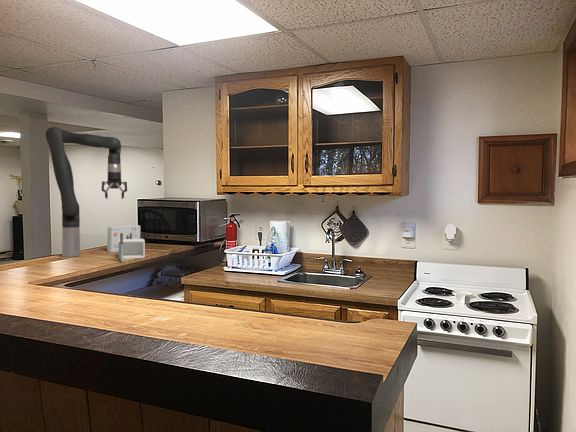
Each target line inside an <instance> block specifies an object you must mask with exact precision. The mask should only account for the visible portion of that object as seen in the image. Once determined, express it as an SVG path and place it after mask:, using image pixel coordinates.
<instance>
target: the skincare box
mask: <svg viewBox="0 0 576 432" xmlns="http://www.w3.org/2000/svg"><path fill="white" fill-rule="evenodd" d="M120 233H123V239H141V225H139V224H138V225H136V224H132V225H115V226H113V225H112V226H107V241H106V242H107V251H106V252H109V253H116V252H118V253H119V239H120Z"/></svg>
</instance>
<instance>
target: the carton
mask: <svg viewBox="0 0 576 432" xmlns="http://www.w3.org/2000/svg"><path fill="white" fill-rule="evenodd" d="M119 242H120V239H119ZM145 242H146V241H145V239H144V238H140V239H123V244H122V245H123V259H139V258H140V259H141V258H142V259H143V258H145V257H146V256H145V255H146V250H145V249H146V245H145Z"/></svg>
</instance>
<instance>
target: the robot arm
mask: <svg viewBox="0 0 576 432" xmlns="http://www.w3.org/2000/svg"><path fill="white" fill-rule="evenodd" d="M45 138H46V142H47V144H48V147H49V151H50V155H51V162H52V167H53V173H54V178H55V181H56V184H57V186H58V190H59V194H60V199H61V201H60V202H61V217H62V218H61V226H62V228H61V231H62V232H61V233H62V234H61V235H62V236H61V237H62V239H61V248H62V249H61V250H62V251H61V252H62V253H61V254H62V255H61V256H62V257H63V258H65V257H67V258H68V257H69V258H71V257H79V256H81V239H80V238H81V235H80V234H81V233H80V231H81V229H80V223H81V222H80V219H81V218H80V217H81V216H80V204H79V202H78V200H77V197H76V193H75V184H74V175H73V170H72V166H71V163H70V160H69V157H68V156H67V154H66V150H65V145H64V144H74V145H82V146H86V147H92V148H100V149H102V148H103V149H108V155H107V181H104V180H102V181H101V191H102V192H104V198H105V199H107V200H108V198H109V196H108V191H109V190H110V189H112V190H113V189H115V190H116V189H118V190H120V191H121V200H123V199H124V198H125V193H126V192H128V182H127V181H122V165H121V161H122V159H121V153H122V152H121V151H122V143H121V141H120V140H119V139H118V138H117V137H113V136H102V135H98V134H89V133H78V132H73V131H68V130H65V129H62V128H60V127H57V126H50V127H49V128H47V129H46V131H45ZM106 184H107V185H108V186H107V188H106V189H105V186H106ZM121 185H123V186H124V189H123V188H122V187H121Z"/></svg>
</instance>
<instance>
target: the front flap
mask: <svg viewBox="0 0 576 432" xmlns="http://www.w3.org/2000/svg"><path fill="white" fill-rule="evenodd" d="M122 244H123V233H120V242H119V251H118V259H119V261H120V262H121V263H123V262H124V258H123V245H122Z"/></svg>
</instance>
